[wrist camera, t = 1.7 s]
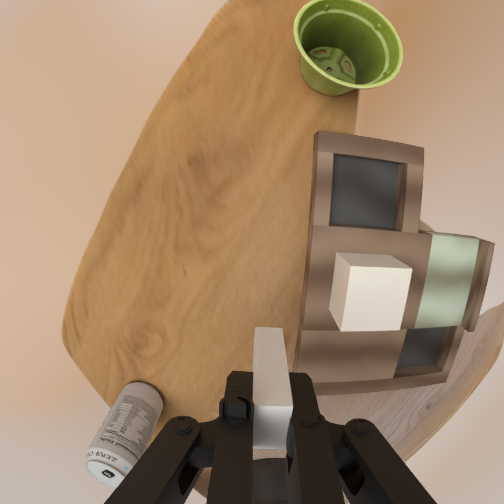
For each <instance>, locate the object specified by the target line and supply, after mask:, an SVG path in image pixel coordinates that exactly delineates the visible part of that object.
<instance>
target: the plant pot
mask: <svg viewBox="0 0 504 504" xmlns="http://www.w3.org/2000/svg"><path fill="white" fill-rule="evenodd" d="M294 39H295V43H296V45H297V48H298V50H299V52H300V53H301V61H300V69H301V74H302V77H303V79H304V80H305V82H306V83H307V84H308V85H309V86H310V87H311V88H312V89H314V90H316V91H318V92H320V93H322V94H324V95H328V96H338V95H342V94H345V93H347V92H349V91H352V90H354V89H371V88H376V87H379V86H382V85H384V84H386V83H388V82H389V81H391V80H392V79H393V78H394V77H395V76H396V75H397V73H398V72H399V70H400V68H401V65H402V61H403V49H402V44H401V41H400V38H399V36H398V34H397V32H396V31H395V29H394V27H393V26H392V24H391V23H390V22H389V21H388V20H387V19H386V18H385V17H384V16H383V15H382V14H381V13H380V12H379V11H377V10H376V9H375V8H373V7H371V6H370V5H368V4H366V3H365V2H362V1H360V0H312V1H310V2H309V3H307V4H306V5H305V6H304V7H303V8H302V9H301V10H300V11H299V13H298V14H297V16H296V19H295V22H294ZM320 50H325V51H326V52H325V53H318V54H315V52H316V51H320ZM345 61H346V62H348V64H349V65H350V68H351V72H349V71H348V69H347V66H346V64H345ZM328 67H330V68H331V69H332V70H331V71H328V70H327V68H328Z"/></svg>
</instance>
